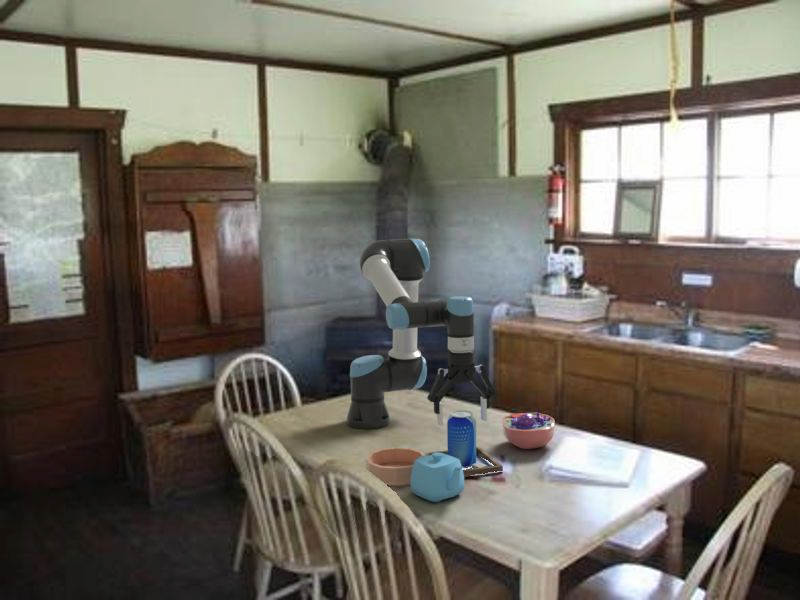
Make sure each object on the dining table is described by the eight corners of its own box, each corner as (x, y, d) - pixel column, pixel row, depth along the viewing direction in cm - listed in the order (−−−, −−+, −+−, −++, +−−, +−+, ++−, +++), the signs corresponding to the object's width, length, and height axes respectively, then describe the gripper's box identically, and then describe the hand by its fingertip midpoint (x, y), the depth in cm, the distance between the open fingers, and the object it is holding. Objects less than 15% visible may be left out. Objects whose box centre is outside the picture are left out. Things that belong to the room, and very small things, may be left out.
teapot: (445, 513, 193) (445, 470, 191) (401, 492, 207) (400, 451, 205) (481, 500, 200) (481, 458, 199) (436, 481, 214) (436, 441, 213)
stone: (471, 471, 221) (471, 464, 221) (479, 469, 223) (479, 462, 223) (479, 475, 218) (479, 467, 218) (487, 473, 220) (487, 465, 220)
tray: (423, 459, 232) (423, 453, 231) (479, 452, 236) (479, 446, 236) (443, 480, 214) (443, 473, 214) (502, 472, 219) (502, 466, 219)
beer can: (479, 462, 228) (479, 410, 226) (472, 472, 220) (472, 418, 218) (452, 459, 231) (451, 408, 228) (444, 469, 223) (443, 416, 221)
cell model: (562, 439, 247) (562, 405, 246) (546, 459, 229) (547, 423, 228) (511, 433, 254) (511, 400, 253) (492, 452, 237) (492, 417, 235)
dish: (359, 467, 226) (358, 451, 225) (417, 460, 231) (417, 444, 230) (374, 489, 209) (373, 472, 208) (436, 481, 214) (436, 464, 213)
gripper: (423, 356, 214) (425, 430, 216) (506, 349, 220) (506, 420, 223) (415, 351, 221) (417, 422, 223) (495, 344, 227) (496, 414, 230)
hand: (462, 422), depth 223 cm, fingers open, 13 cm apart
